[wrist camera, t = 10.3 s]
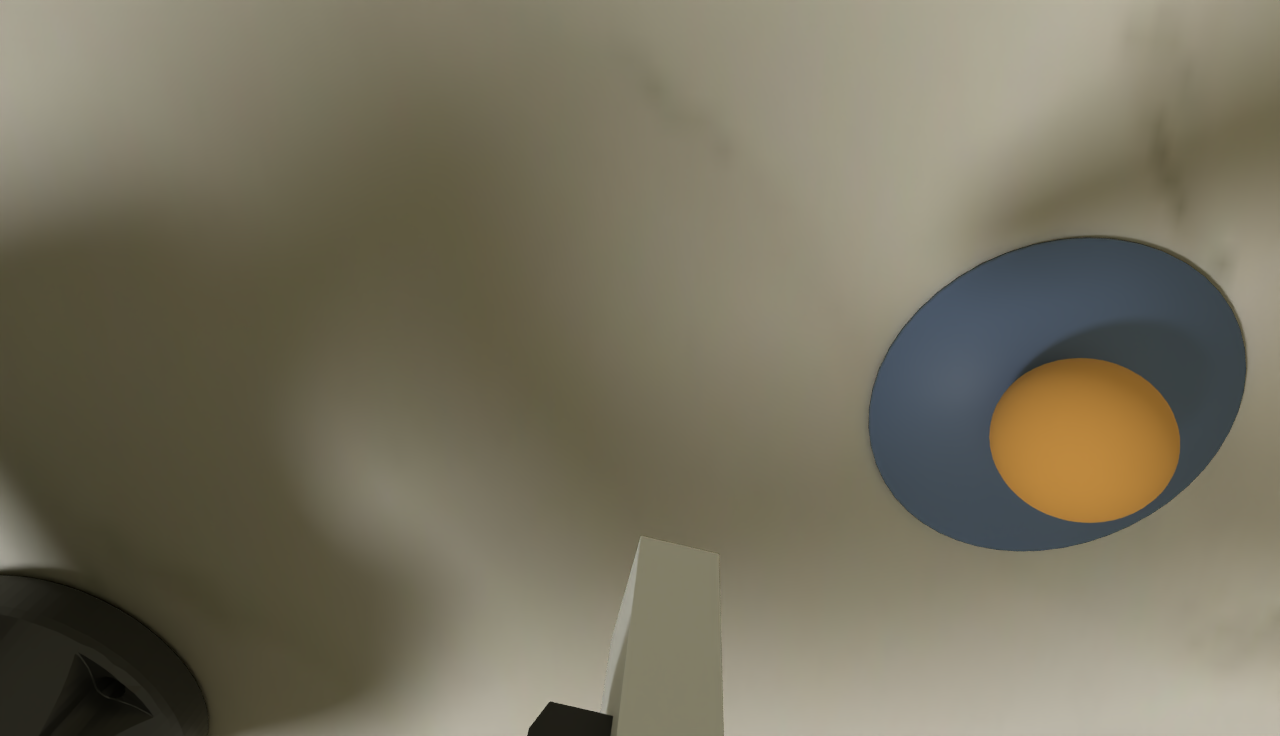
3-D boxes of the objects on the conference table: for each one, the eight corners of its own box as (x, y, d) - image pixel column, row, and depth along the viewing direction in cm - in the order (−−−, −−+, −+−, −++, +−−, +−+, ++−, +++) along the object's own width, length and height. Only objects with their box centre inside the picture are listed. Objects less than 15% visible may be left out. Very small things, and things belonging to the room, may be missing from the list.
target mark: (822, 506, 30) (822, 509, 30) (950, 196, 25) (952, 197, 24) (1126, 578, 31) (1128, 581, 30) (1322, 289, 25) (1327, 291, 25)
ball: (964, 441, 29) (961, 509, 25) (1028, 315, 27) (1037, 364, 22) (1112, 499, 28) (1139, 583, 23) (1193, 371, 25) (1241, 436, 21)
